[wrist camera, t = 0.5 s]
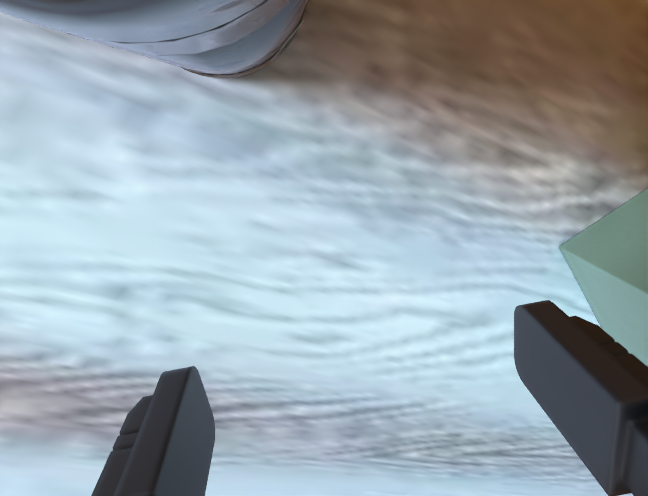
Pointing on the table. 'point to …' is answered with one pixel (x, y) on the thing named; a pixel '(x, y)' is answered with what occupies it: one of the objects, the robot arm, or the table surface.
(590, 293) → the stand
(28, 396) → the table surface
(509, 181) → the table surface
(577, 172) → the table surface
